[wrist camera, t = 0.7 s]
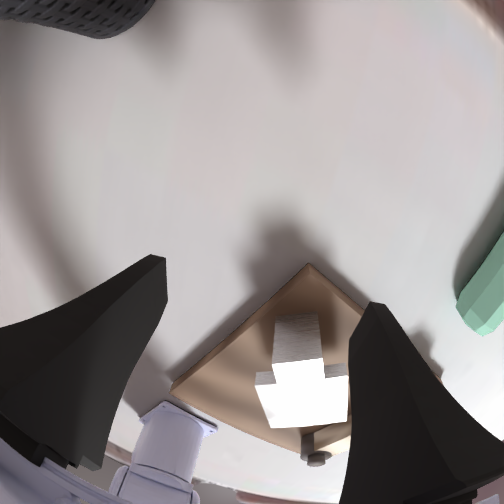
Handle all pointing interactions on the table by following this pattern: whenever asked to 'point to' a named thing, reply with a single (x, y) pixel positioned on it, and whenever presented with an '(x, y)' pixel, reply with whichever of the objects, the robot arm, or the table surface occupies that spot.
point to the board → (269, 358)
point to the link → (326, 443)
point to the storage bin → (78, 14)
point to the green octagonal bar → (485, 293)
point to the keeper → (301, 377)
